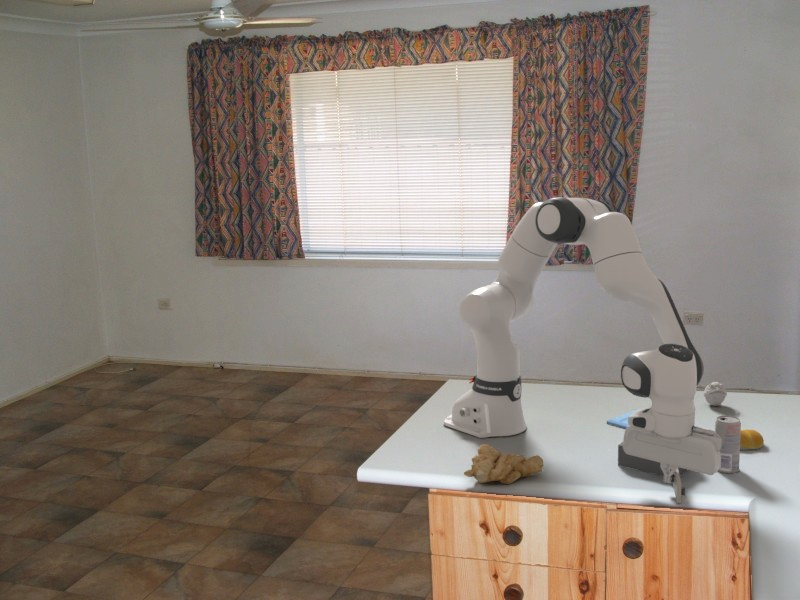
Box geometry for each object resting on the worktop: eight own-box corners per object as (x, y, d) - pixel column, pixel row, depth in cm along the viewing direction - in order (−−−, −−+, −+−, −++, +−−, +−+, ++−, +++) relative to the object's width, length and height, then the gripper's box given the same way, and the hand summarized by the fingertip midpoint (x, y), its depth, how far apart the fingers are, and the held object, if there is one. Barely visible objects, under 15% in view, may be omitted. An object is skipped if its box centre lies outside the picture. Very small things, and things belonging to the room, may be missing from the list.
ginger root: (448, 473, 193) (454, 439, 192) (493, 470, 204) (499, 437, 203) (499, 496, 181) (505, 459, 181) (544, 490, 192) (550, 456, 192)
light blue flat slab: (636, 413, 234) (636, 408, 233) (675, 423, 224) (675, 418, 224) (606, 425, 225) (606, 420, 225) (645, 436, 216) (645, 431, 216)
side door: (684, 503, 175) (685, 482, 174) (675, 503, 176) (676, 482, 175) (679, 479, 187) (679, 459, 186) (670, 479, 188) (671, 459, 187)
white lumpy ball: (706, 409, 233) (707, 385, 232) (700, 401, 240) (701, 378, 238) (729, 409, 232) (730, 385, 231) (722, 401, 239) (723, 377, 238)
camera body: (618, 465, 197) (618, 442, 196) (634, 453, 204) (634, 431, 203) (682, 480, 187) (683, 456, 186) (697, 467, 194) (698, 443, 193)
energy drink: (722, 462, 196) (724, 413, 194) (743, 469, 192) (745, 419, 189) (709, 469, 193) (710, 418, 191) (730, 475, 189) (732, 424, 186)
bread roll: (769, 449, 203) (770, 433, 203) (734, 452, 203) (734, 436, 202) (752, 437, 211) (753, 422, 211) (718, 440, 211) (718, 425, 210)
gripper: (727, 427, 174) (723, 489, 177) (633, 407, 186) (630, 465, 190) (717, 437, 169) (712, 501, 172) (620, 416, 182) (618, 475, 185)
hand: (669, 482), depth 181 cm, fingers closed, pressing on side door
